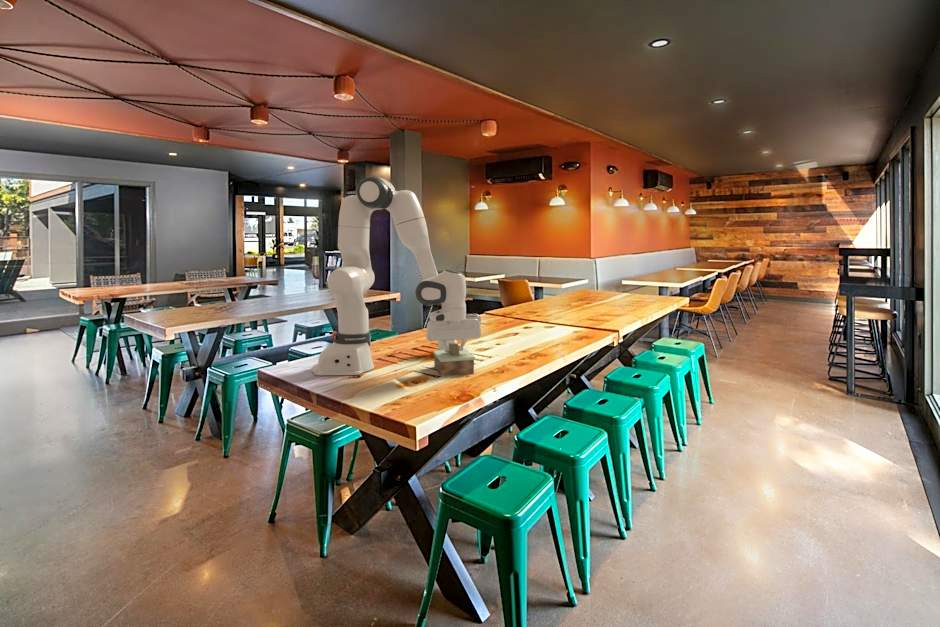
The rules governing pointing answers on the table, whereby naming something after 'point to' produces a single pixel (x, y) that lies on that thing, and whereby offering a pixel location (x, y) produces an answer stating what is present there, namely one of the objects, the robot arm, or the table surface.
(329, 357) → the robot arm
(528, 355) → the table surface
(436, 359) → the walnut box
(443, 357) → the lid
